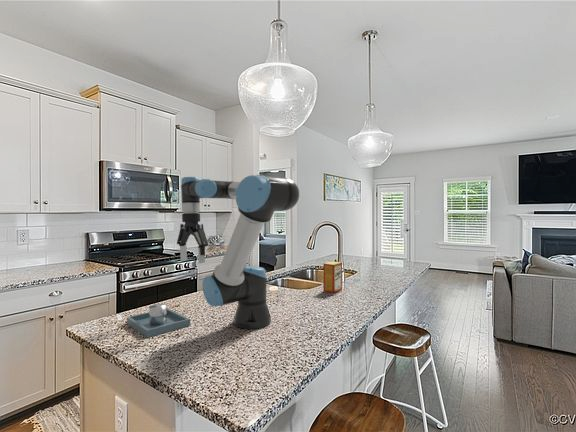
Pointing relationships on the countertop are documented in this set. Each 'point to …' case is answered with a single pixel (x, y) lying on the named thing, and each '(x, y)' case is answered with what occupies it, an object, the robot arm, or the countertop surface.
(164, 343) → the countertop surface
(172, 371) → the countertop surface
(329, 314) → the countertop surface
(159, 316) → the knob
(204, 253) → the robot arm
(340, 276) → the baking soda box
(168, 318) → the parts tray
